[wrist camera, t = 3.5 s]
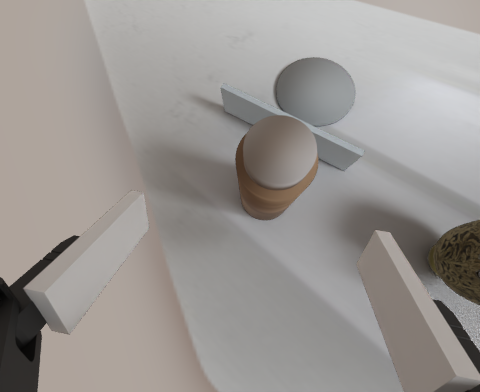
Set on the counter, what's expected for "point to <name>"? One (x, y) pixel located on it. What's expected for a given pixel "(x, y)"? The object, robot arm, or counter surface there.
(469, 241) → the cup
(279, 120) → the pepper mill
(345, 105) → the coaster
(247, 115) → the acrylic wall
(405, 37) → the counter surface
